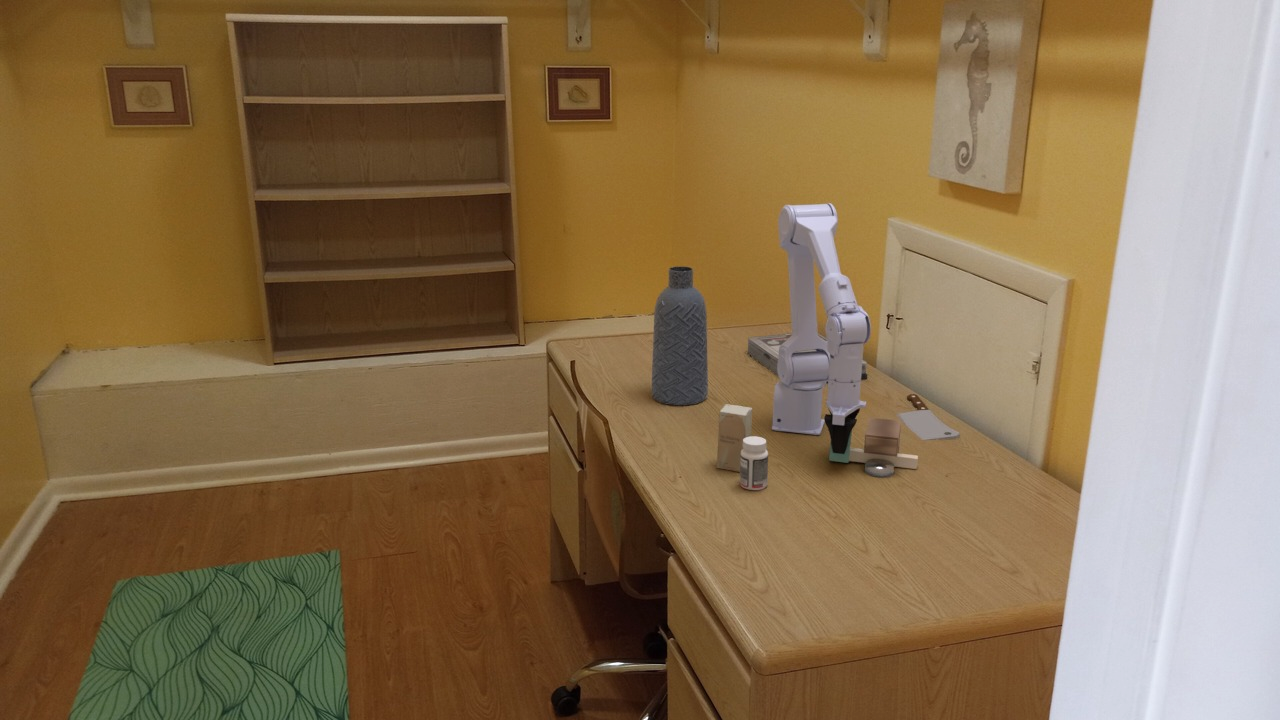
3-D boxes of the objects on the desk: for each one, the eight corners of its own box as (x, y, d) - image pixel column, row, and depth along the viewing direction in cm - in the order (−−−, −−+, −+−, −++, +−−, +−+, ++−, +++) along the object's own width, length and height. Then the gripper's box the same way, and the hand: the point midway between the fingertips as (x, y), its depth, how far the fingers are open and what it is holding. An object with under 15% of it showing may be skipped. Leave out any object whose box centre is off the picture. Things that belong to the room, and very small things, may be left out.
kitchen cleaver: (879, 395, 216) (925, 393, 216) (879, 400, 216) (925, 397, 216) (911, 439, 192) (962, 436, 192) (911, 444, 193) (962, 441, 193)
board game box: (793, 389, 223) (794, 370, 221) (746, 354, 247) (746, 337, 246) (867, 381, 228) (868, 362, 226) (813, 348, 252) (814, 331, 251)
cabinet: (862, 471, 179) (865, 434, 177) (866, 452, 187) (869, 417, 185) (895, 475, 177) (898, 438, 175) (898, 456, 185) (901, 420, 183)
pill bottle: (769, 481, 175) (771, 437, 172) (763, 492, 170) (765, 447, 168) (743, 478, 176) (744, 433, 174) (736, 488, 172) (738, 443, 169)
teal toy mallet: (828, 460, 182) (831, 430, 180) (830, 452, 185) (833, 422, 183) (916, 471, 178) (920, 440, 177) (916, 463, 182) (920, 433, 180)
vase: (695, 385, 224) (697, 261, 215) (716, 403, 213) (719, 272, 204) (643, 391, 220) (643, 265, 212) (662, 409, 209) (663, 277, 201)
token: (863, 476, 177) (863, 467, 177) (866, 465, 182) (866, 457, 181) (892, 479, 176) (892, 471, 175) (894, 468, 180) (895, 460, 180)
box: (716, 468, 180) (717, 410, 177) (723, 459, 184) (724, 403, 180) (744, 472, 178) (746, 414, 175) (750, 463, 182) (752, 406, 179)
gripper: (863, 392, 171) (858, 466, 175) (871, 367, 184) (866, 436, 188) (822, 389, 173) (818, 461, 177) (832, 364, 186) (828, 432, 190)
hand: (840, 448), depth 182 cm, fingers closed on teal toy mallet, 4 cm apart
